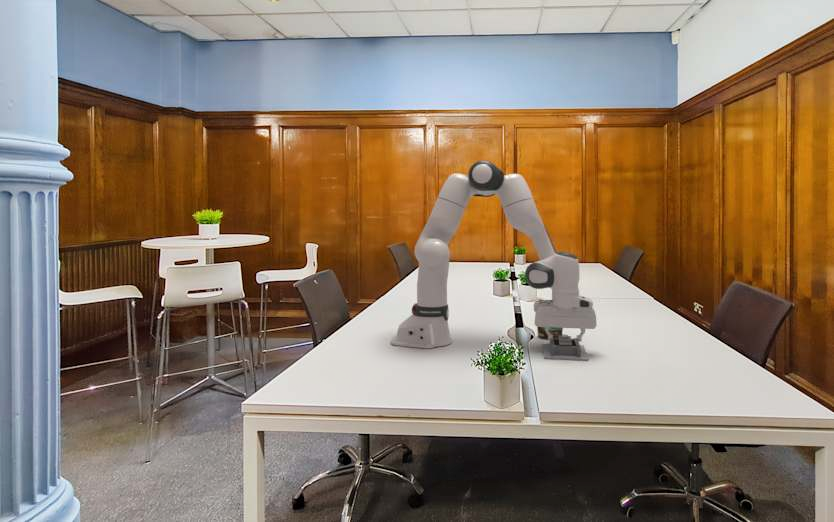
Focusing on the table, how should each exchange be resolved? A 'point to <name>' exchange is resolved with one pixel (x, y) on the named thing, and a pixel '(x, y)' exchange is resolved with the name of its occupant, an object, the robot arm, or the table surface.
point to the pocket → (565, 351)
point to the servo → (564, 340)
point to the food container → (551, 330)
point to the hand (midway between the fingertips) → (564, 340)
